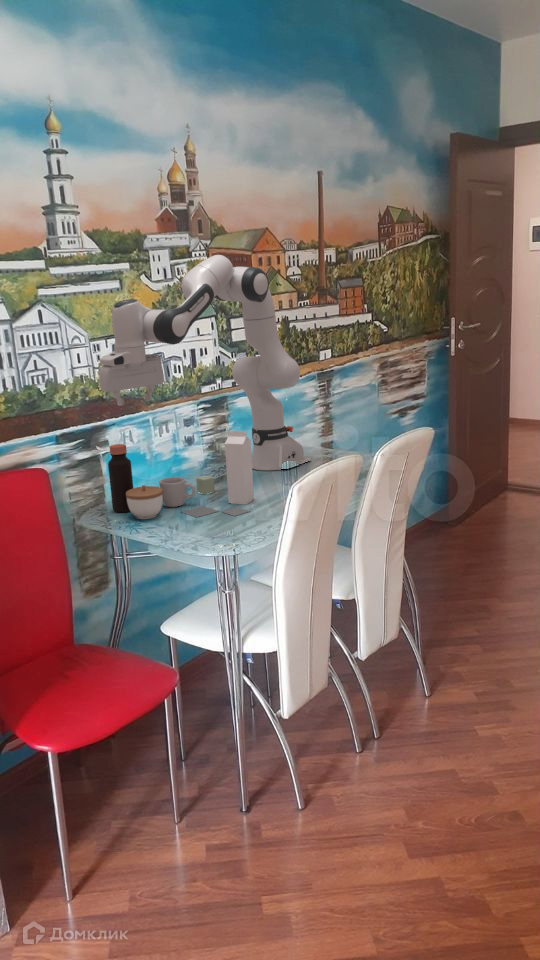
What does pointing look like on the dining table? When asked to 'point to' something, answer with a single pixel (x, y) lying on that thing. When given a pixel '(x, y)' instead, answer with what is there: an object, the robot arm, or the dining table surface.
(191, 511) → the thin grey square tile
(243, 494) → the milk
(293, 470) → the dining table surface
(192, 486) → the cup
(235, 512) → the grey square coaster
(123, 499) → the vinegar
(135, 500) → the lidded jar
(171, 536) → the dining table surface
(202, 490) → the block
